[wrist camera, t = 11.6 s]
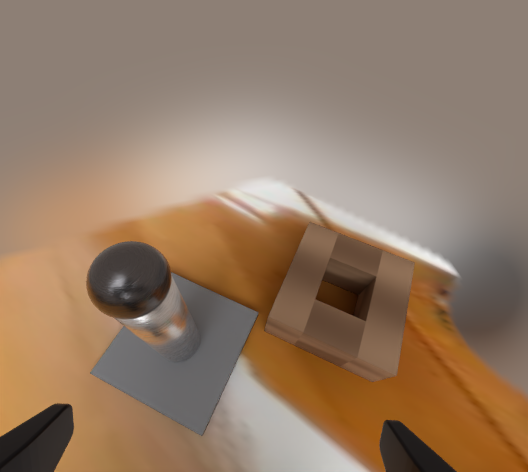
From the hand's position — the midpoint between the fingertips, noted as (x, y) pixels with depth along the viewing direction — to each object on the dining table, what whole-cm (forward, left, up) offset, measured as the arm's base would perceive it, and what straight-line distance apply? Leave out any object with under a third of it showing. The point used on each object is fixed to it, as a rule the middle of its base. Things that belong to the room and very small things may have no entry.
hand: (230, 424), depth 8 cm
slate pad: (+3, +6, -14) cm, 15 cm away
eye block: (+11, -4, -14) cm, 18 cm away
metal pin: (+3, +6, -13) cm, 15 cm away
